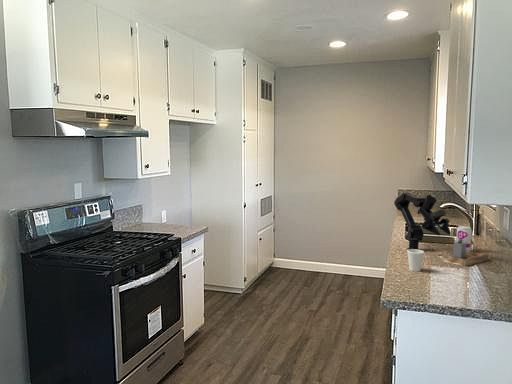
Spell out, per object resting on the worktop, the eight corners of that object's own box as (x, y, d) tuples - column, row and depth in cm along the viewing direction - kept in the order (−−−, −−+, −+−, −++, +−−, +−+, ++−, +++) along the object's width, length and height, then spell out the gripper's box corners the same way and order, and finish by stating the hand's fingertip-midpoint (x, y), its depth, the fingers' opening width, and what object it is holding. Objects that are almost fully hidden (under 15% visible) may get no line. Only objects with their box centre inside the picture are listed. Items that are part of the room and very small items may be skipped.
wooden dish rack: (440, 261, 239) (441, 253, 239) (464, 255, 253) (464, 248, 252) (464, 267, 228) (465, 259, 227) (488, 261, 241) (488, 253, 241)
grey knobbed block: (452, 261, 238) (453, 239, 236) (457, 260, 240) (458, 238, 239) (460, 263, 234) (461, 240, 233) (465, 261, 236) (466, 239, 235)
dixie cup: (403, 268, 226) (403, 249, 225) (415, 266, 229) (416, 248, 228) (414, 272, 218) (414, 253, 217) (427, 271, 221) (427, 252, 220)
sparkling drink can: (466, 253, 259) (468, 228, 258) (453, 250, 266) (454, 226, 264) (472, 251, 265) (474, 227, 263) (459, 248, 271) (460, 225, 269)
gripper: (425, 205, 242) (443, 225, 232) (446, 204, 251) (464, 224, 242) (414, 218, 249) (430, 239, 239) (435, 217, 258) (451, 237, 248)
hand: (444, 234), depth 242 cm, fingers open, 9 cm apart
